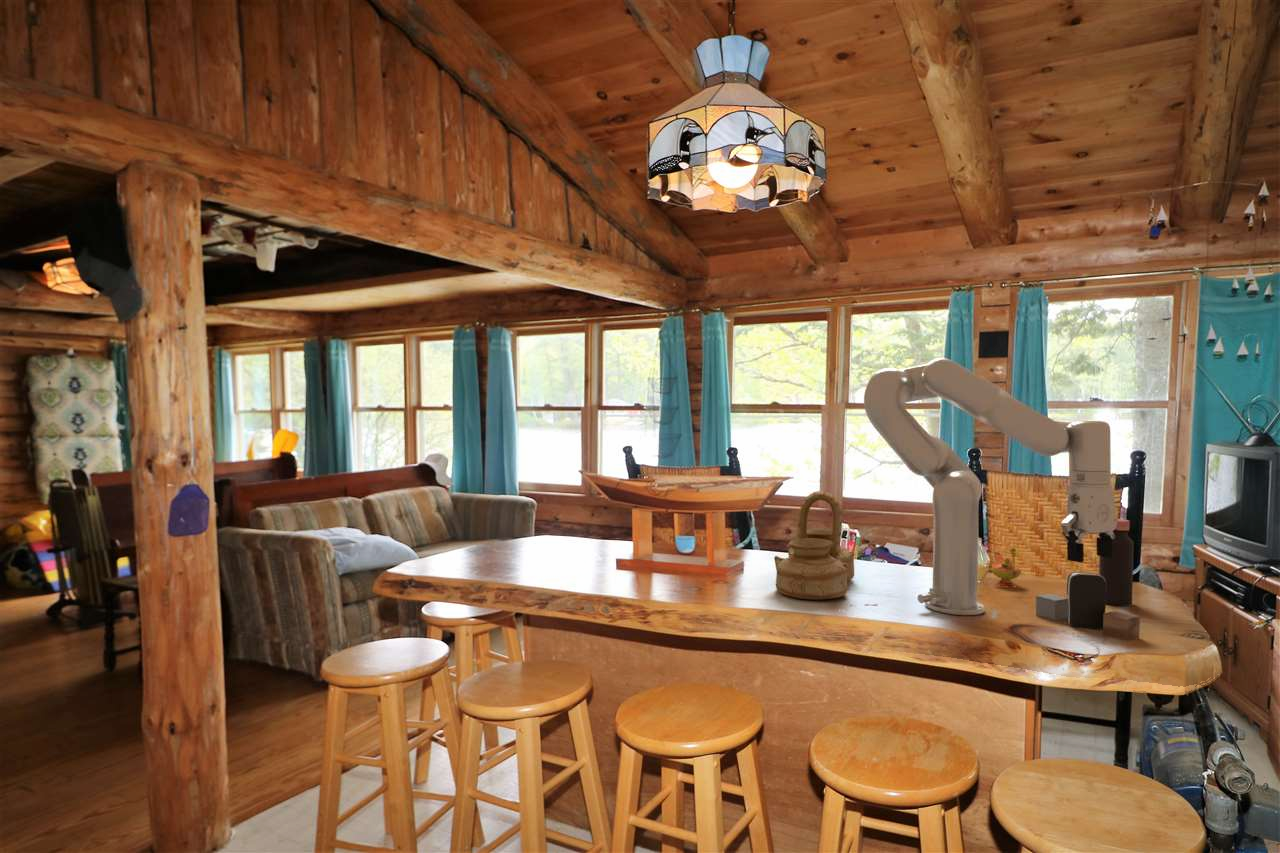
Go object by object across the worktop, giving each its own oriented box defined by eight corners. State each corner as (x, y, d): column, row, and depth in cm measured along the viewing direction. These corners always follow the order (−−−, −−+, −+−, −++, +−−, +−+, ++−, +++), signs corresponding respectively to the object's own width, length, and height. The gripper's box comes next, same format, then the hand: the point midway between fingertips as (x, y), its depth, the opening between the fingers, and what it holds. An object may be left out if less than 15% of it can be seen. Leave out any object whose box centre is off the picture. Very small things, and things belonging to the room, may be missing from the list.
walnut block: (1125, 641, 144) (1126, 619, 144) (1102, 634, 148) (1103, 613, 148) (1139, 638, 146) (1139, 616, 146) (1116, 632, 150) (1117, 610, 150)
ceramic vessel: (789, 569, 206) (790, 483, 205) (856, 575, 200) (858, 486, 199) (767, 599, 174) (768, 496, 174) (846, 607, 168) (848, 500, 167)
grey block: (1054, 621, 158) (1055, 600, 158) (1035, 615, 162) (1036, 595, 162) (1068, 618, 160) (1068, 598, 160) (1049, 613, 164) (1049, 593, 164)
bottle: (1115, 598, 177) (1117, 517, 176) (1139, 606, 170) (1141, 521, 169) (1091, 599, 175) (1093, 518, 175) (1114, 607, 169) (1116, 522, 168)
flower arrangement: (1008, 576, 199) (1009, 537, 199) (1028, 592, 181) (1029, 549, 181) (981, 575, 201) (982, 535, 200) (999, 591, 183) (1000, 548, 183)
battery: (1100, 625, 155) (1102, 572, 154) (1106, 630, 151) (1107, 576, 151) (1064, 621, 157) (1065, 569, 156) (1068, 626, 153) (1070, 573, 153)
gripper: (1080, 482, 146) (1081, 566, 146) (1133, 478, 153) (1133, 558, 153) (1046, 479, 153) (1046, 560, 153) (1097, 475, 160) (1098, 552, 160)
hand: (1090, 559), depth 153 cm, fingers open, 9 cm apart
